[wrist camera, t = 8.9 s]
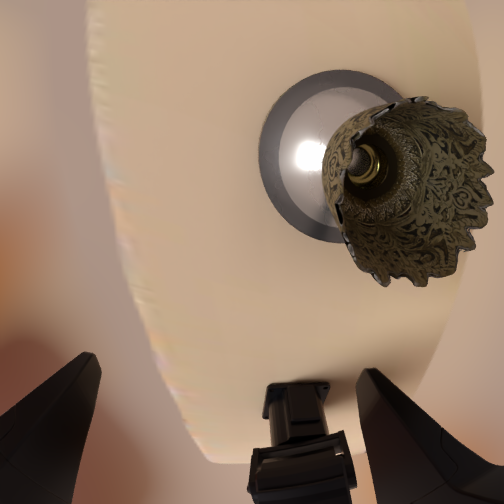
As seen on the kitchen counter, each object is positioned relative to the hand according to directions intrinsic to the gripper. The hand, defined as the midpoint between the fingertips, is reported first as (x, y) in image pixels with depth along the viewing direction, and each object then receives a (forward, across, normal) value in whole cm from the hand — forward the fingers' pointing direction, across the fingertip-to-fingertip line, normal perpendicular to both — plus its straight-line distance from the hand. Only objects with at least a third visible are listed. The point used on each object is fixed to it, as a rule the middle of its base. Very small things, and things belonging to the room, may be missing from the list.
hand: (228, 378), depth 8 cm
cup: (+11, -7, -6) cm, 14 cm away
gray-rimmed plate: (+12, -6, -6) cm, 15 cm away
